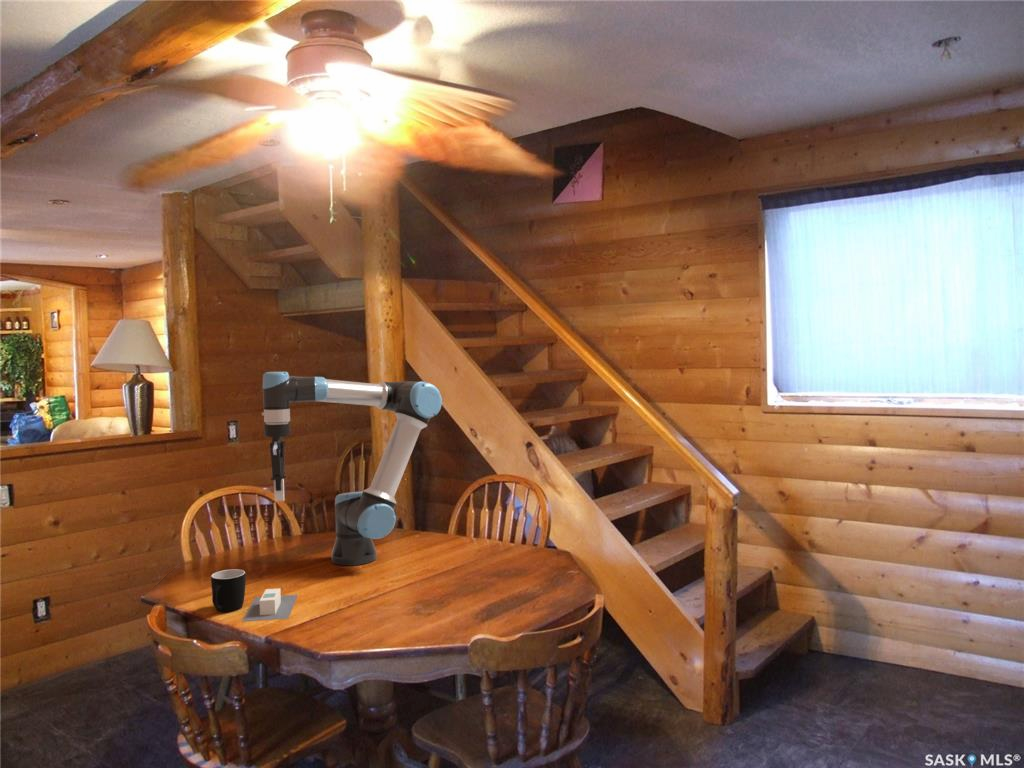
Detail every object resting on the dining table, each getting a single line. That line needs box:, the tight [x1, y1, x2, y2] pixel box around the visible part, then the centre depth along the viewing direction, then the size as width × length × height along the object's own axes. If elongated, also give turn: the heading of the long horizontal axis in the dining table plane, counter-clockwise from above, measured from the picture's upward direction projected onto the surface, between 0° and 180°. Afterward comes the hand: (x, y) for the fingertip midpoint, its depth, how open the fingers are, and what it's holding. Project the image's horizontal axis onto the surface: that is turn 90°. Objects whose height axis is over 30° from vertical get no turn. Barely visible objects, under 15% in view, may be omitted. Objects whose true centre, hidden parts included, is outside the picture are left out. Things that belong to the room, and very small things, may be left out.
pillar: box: [260, 588, 282, 615], centre depth 215 cm, size 4×4×10 cm
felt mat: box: [241, 594, 299, 623], centre depth 216 cm, size 12×20×1 cm, turn 8°
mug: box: [210, 568, 246, 613], centre depth 214 cm, size 12×9×10 cm
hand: (279, 500), depth 235 cm, fingers closed
